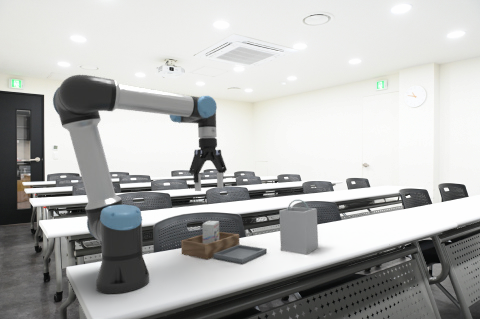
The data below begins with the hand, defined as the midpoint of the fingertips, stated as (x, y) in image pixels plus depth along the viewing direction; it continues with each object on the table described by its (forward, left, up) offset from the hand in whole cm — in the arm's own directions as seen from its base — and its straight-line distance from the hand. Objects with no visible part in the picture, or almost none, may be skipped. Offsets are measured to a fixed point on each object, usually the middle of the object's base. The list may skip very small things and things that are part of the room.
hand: (209, 189), depth 133 cm
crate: (0, 0, -25) cm, 25 cm away
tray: (0, -15, -25) cm, 29 cm away
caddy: (+20, -30, -25) cm, 44 cm away
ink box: (0, 0, -26) cm, 26 cm away
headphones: (+20, -30, -26) cm, 44 cm away
